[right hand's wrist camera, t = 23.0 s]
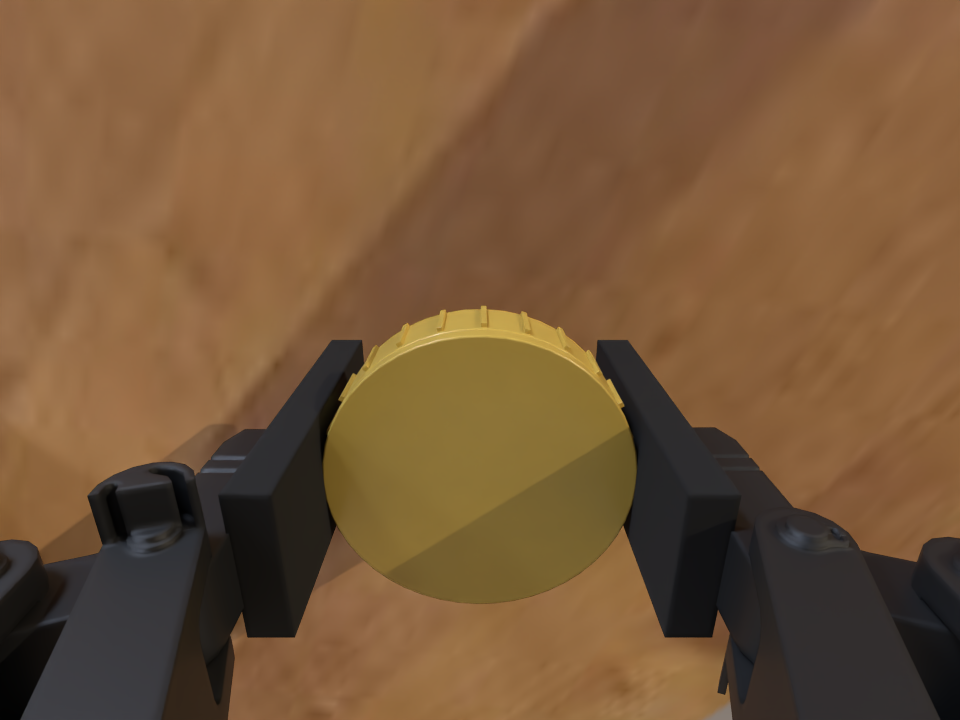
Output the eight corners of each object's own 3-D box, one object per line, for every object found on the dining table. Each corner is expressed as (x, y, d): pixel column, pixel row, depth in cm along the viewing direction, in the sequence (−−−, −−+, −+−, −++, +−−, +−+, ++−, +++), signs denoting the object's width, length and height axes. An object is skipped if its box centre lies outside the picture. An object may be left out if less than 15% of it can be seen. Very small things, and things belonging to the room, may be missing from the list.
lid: (674, 375, 11) (703, 410, 10) (543, 585, 13) (551, 641, 12) (398, 256, 10) (384, 275, 9) (302, 500, 13) (278, 549, 11)
